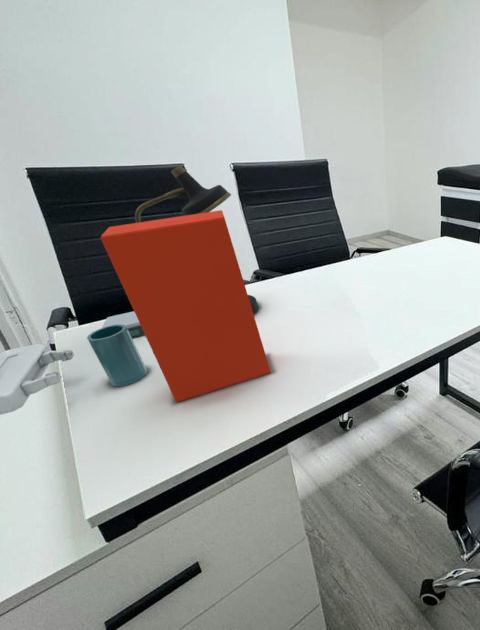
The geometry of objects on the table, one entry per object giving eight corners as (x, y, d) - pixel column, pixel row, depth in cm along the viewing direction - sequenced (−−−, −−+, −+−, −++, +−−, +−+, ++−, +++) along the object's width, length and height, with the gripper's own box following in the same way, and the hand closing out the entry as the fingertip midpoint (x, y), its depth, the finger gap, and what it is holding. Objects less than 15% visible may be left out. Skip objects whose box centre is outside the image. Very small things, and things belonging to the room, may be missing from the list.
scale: (103, 345, 95) (96, 333, 93) (110, 328, 103) (105, 317, 102) (159, 332, 99) (153, 320, 98) (162, 316, 108) (157, 305, 106)
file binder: (271, 373, 79) (224, 217, 64) (176, 403, 72) (99, 236, 58) (265, 355, 85) (221, 209, 71) (178, 381, 79) (109, 226, 64)
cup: (108, 390, 78) (83, 343, 73) (114, 374, 83) (90, 330, 78) (145, 379, 80) (123, 334, 75) (148, 365, 85) (128, 321, 80)
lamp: (265, 317, 103) (221, 163, 85) (173, 339, 95) (105, 175, 78) (260, 296, 116) (222, 159, 98) (180, 314, 109) (122, 169, 91)
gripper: (-71, 408, 60) (40, 378, 66) (-15, 349, 77) (71, 329, 82) (-46, 437, 63) (59, 407, 69) (3, 375, 80) (85, 354, 85)
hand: (66, 364), depth 76 cm, fingers open, 8 cm apart
